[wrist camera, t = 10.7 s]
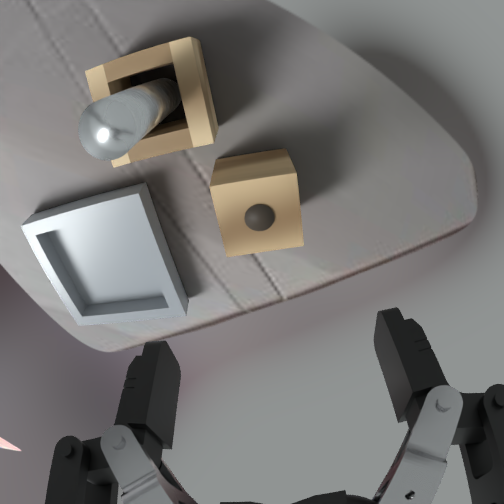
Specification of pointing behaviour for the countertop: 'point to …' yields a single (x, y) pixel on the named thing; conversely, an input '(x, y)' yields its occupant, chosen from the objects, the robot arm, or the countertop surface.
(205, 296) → the countertop surface
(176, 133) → the oak block
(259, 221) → the block
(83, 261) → the tray
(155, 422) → the robot arm
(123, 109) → the cylinder
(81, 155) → the countertop surface
